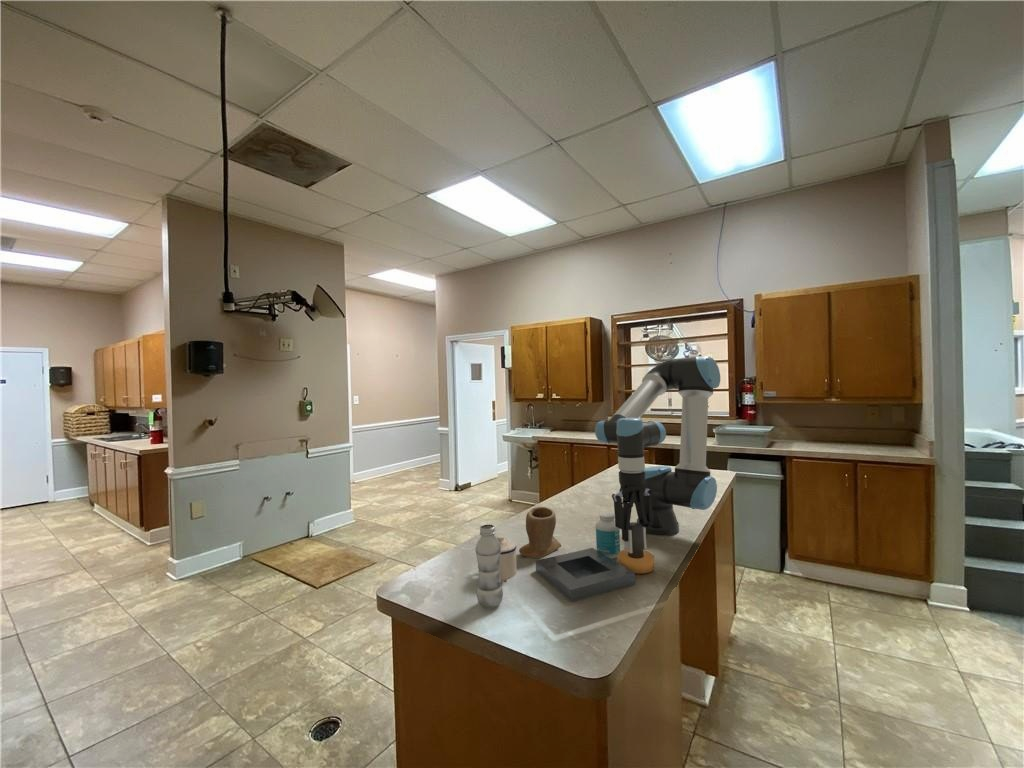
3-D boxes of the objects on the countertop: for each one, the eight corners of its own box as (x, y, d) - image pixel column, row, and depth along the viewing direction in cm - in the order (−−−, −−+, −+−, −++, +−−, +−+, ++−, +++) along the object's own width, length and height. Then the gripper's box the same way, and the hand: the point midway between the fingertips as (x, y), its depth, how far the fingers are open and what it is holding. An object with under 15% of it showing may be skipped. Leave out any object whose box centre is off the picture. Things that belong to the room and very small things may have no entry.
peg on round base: (638, 556, 127) (636, 517, 128) (662, 568, 118) (660, 526, 118) (611, 562, 123) (609, 522, 124) (633, 576, 114) (631, 533, 114)
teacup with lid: (523, 573, 122) (522, 534, 122) (504, 586, 115) (502, 544, 115) (492, 564, 129) (491, 527, 129) (473, 576, 122) (471, 536, 122)
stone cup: (541, 565, 127) (539, 517, 127) (514, 555, 136) (512, 510, 136) (571, 550, 138) (569, 505, 138) (544, 542, 146) (542, 500, 146)
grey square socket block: (593, 560, 129) (592, 547, 129) (635, 587, 111) (634, 572, 111) (536, 574, 121) (535, 560, 121) (571, 606, 103) (570, 589, 103)
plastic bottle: (477, 599, 108) (473, 523, 108) (502, 597, 108) (499, 521, 109) (477, 613, 101) (473, 531, 102) (504, 610, 102) (500, 530, 102)
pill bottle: (621, 562, 127) (619, 518, 127) (597, 561, 128) (595, 518, 129) (620, 552, 134) (618, 511, 134) (597, 551, 136) (595, 510, 136)
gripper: (646, 465, 128) (649, 540, 128) (599, 471, 121) (603, 551, 121) (663, 469, 121) (667, 548, 121) (615, 476, 114) (619, 560, 114)
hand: (635, 549), depth 121 cm, fingers closed on peg on round base, 4 cm apart
